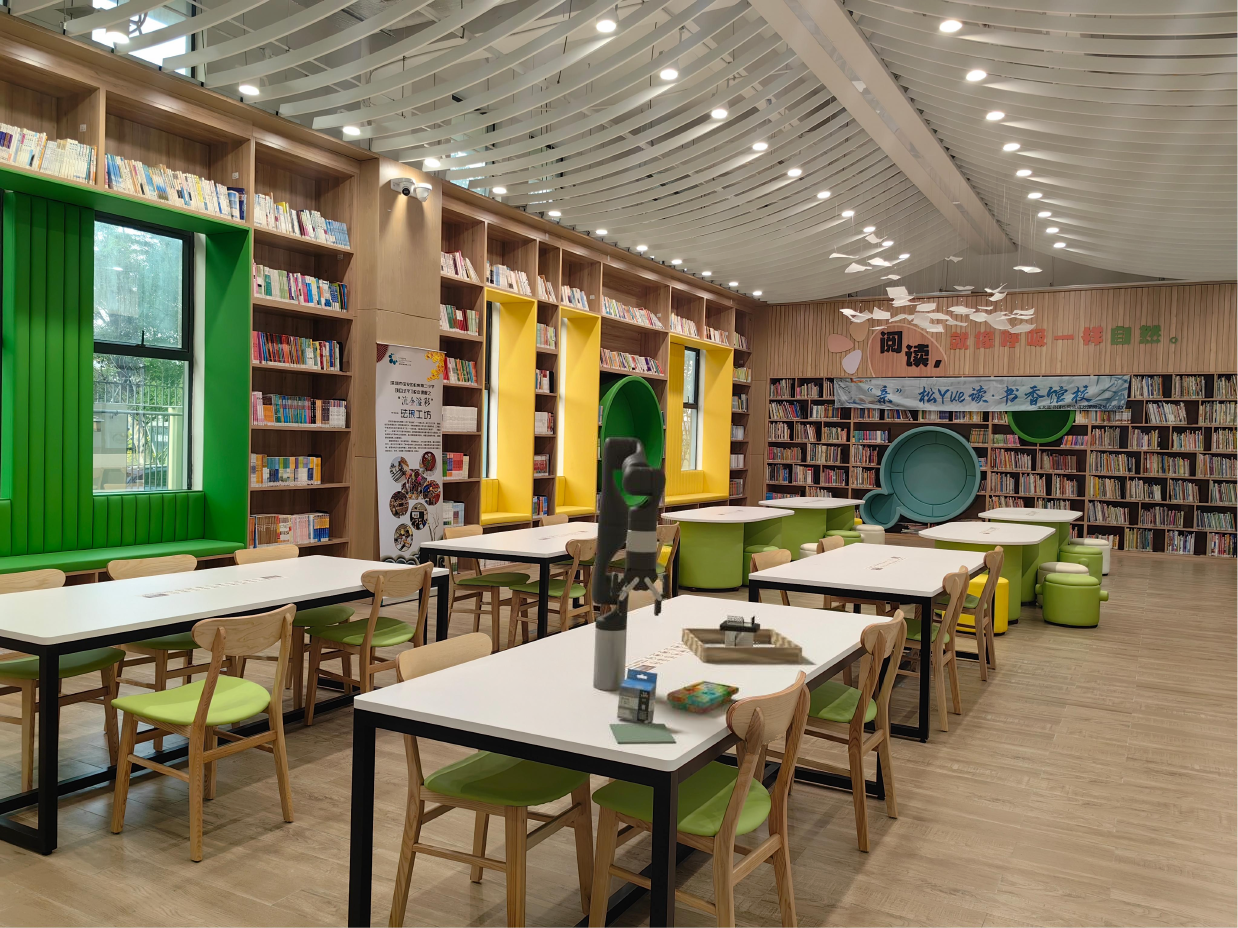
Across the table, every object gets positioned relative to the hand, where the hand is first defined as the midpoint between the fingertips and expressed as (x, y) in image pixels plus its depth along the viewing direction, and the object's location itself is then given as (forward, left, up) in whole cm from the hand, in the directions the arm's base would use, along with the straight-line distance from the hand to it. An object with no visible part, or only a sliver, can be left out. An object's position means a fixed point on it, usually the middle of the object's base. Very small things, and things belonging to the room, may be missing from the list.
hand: (639, 615), depth 220 cm
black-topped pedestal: (-92, +53, -30) cm, 110 cm away
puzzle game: (-27, +24, -30) cm, 47 cm away
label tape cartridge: (-11, +2, -29) cm, 31 cm away
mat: (0, +2, -29) cm, 29 cm away
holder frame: (-92, +53, -29) cm, 110 cm away
